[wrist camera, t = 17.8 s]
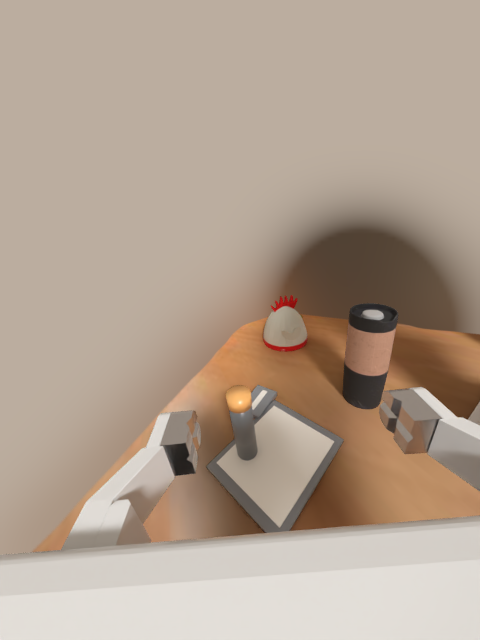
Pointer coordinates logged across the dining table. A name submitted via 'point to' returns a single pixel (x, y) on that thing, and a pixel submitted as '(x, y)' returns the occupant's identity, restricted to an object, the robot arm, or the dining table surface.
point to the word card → (261, 400)
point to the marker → (242, 421)
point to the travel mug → (368, 353)
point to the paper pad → (277, 467)
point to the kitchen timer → (285, 327)
